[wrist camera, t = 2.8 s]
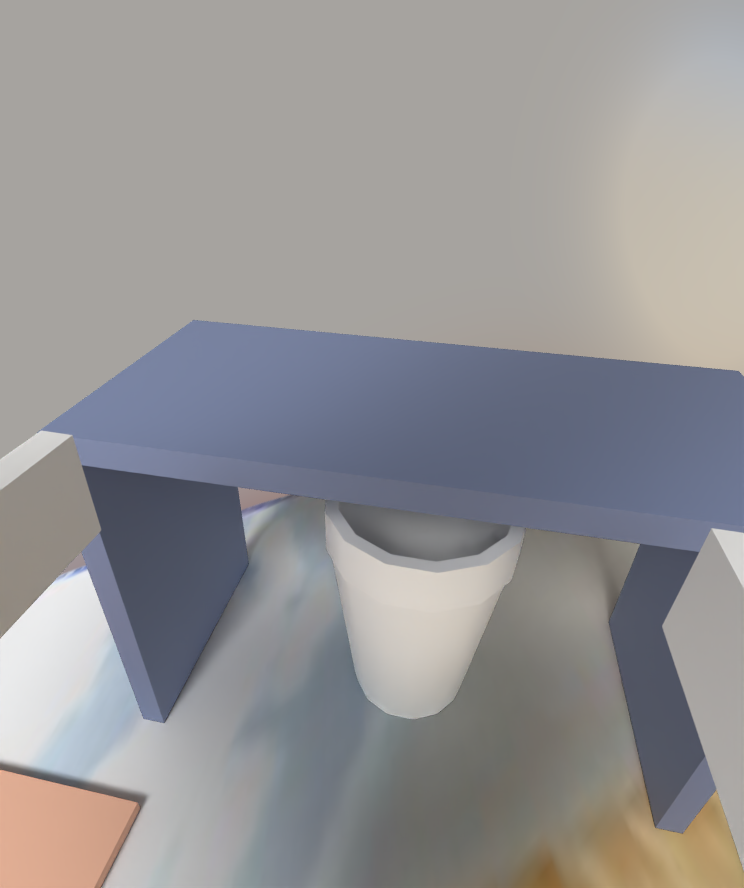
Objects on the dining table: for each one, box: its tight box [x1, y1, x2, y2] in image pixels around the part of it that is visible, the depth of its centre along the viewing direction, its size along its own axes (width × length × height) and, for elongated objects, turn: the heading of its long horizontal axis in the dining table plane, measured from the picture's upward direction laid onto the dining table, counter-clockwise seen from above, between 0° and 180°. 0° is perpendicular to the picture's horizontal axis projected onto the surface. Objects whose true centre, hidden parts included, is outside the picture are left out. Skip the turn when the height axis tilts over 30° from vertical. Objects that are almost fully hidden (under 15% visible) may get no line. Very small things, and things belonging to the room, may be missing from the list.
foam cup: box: [325, 500, 526, 720], centre depth 28 cm, size 10×9×13 cm
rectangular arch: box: [37, 320, 744, 834], centre depth 27 cm, size 27×12×18 cm, turn 79°
